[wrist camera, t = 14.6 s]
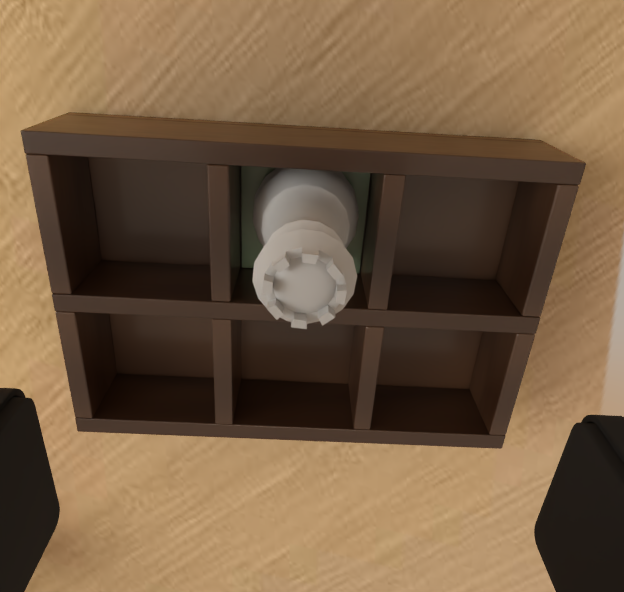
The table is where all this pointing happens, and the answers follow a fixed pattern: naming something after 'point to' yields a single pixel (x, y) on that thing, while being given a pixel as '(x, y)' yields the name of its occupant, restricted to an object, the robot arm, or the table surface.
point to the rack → (250, 310)
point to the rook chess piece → (305, 244)
